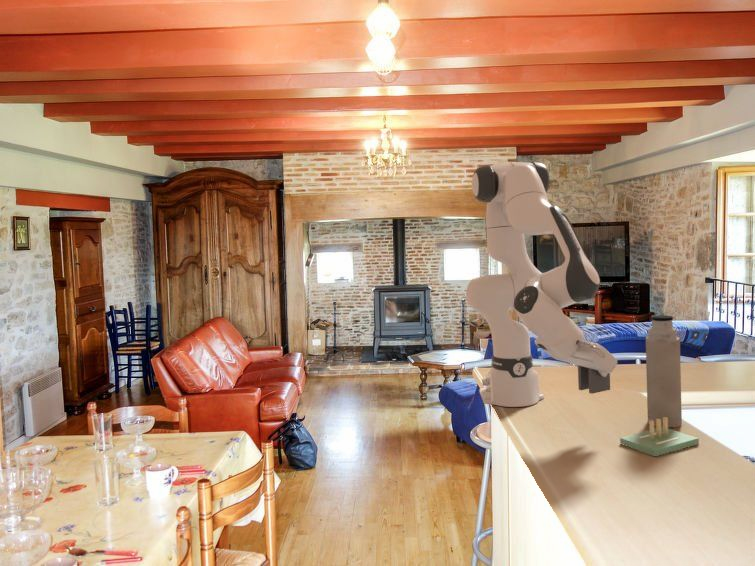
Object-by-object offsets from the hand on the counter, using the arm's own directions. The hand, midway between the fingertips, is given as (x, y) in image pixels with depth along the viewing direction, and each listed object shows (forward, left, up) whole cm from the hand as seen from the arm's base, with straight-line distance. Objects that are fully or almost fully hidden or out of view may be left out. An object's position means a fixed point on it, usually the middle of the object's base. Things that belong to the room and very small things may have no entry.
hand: (595, 371), depth 151 cm
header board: (+11, +9, -16) cm, 21 cm away
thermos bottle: (-2, +19, -16) cm, 25 cm away
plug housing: (0, -1, -4) cm, 4 cm away
